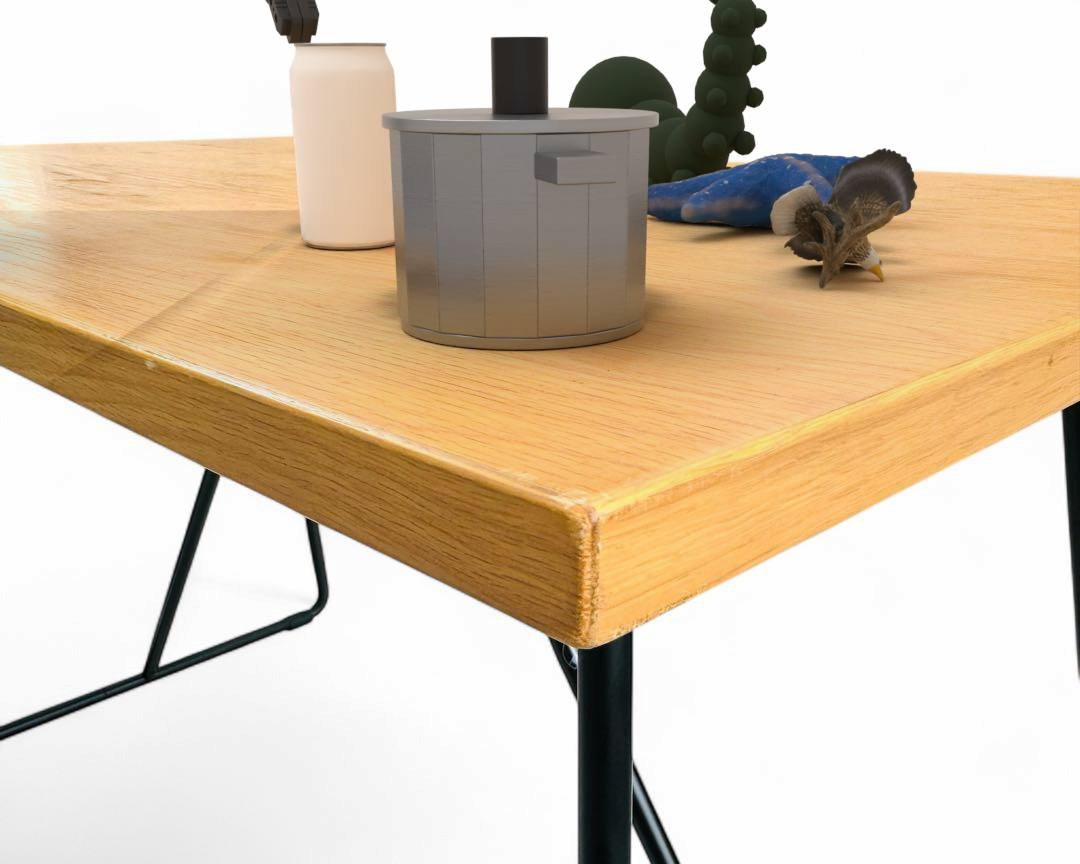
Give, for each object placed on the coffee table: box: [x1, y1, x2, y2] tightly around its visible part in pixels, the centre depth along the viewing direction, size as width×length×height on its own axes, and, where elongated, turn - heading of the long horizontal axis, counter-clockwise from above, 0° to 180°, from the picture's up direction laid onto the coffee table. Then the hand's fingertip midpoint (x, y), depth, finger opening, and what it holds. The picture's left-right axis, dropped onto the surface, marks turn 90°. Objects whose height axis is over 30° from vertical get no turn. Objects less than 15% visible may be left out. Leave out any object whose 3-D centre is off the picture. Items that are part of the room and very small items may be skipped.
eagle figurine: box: [770, 147, 918, 290], centre depth 65 cm, size 8×7×9 cm
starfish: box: [647, 152, 913, 228], centre depth 84 cm, size 19×19×5 cm
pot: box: [389, 128, 649, 351], centre depth 53 cm, size 11×16×8 cm
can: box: [288, 42, 398, 251], centre depth 76 cm, size 6×6×12 cm
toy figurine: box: [567, 0, 768, 187], centre depth 100 cm, size 9×19×25 cm
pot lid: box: [382, 36, 659, 134], centre depth 51 cm, size 12×12×4 cm
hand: (301, 34), depth 82 cm, fingers closed
